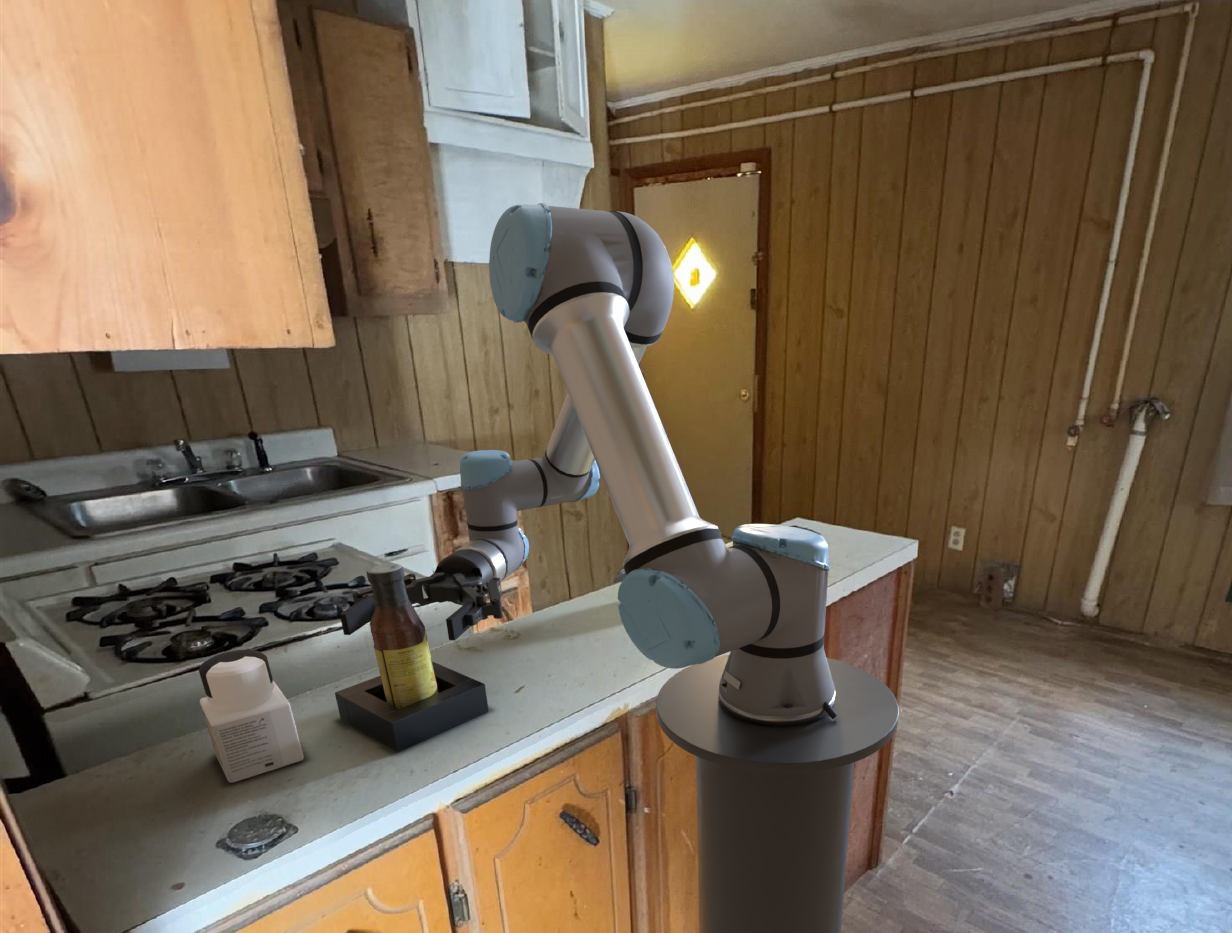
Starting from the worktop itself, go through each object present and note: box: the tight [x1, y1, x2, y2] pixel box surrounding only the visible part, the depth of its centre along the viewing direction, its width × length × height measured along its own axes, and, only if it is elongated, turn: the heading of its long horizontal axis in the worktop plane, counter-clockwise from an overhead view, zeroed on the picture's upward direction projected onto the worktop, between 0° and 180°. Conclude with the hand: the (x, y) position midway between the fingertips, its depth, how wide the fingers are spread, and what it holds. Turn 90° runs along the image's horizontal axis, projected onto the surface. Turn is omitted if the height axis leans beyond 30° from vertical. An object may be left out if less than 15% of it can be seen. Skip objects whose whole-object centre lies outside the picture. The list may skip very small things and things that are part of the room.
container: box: [198, 649, 305, 784], centre depth 88 cm, size 8×8×13 cm
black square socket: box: [334, 661, 489, 753], centre depth 99 cm, size 13×13×4 cm
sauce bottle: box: [366, 562, 438, 709], centre depth 96 cm, size 7×6×20 cm
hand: (396, 627), depth 94 cm, fingers open, 13 cm apart
